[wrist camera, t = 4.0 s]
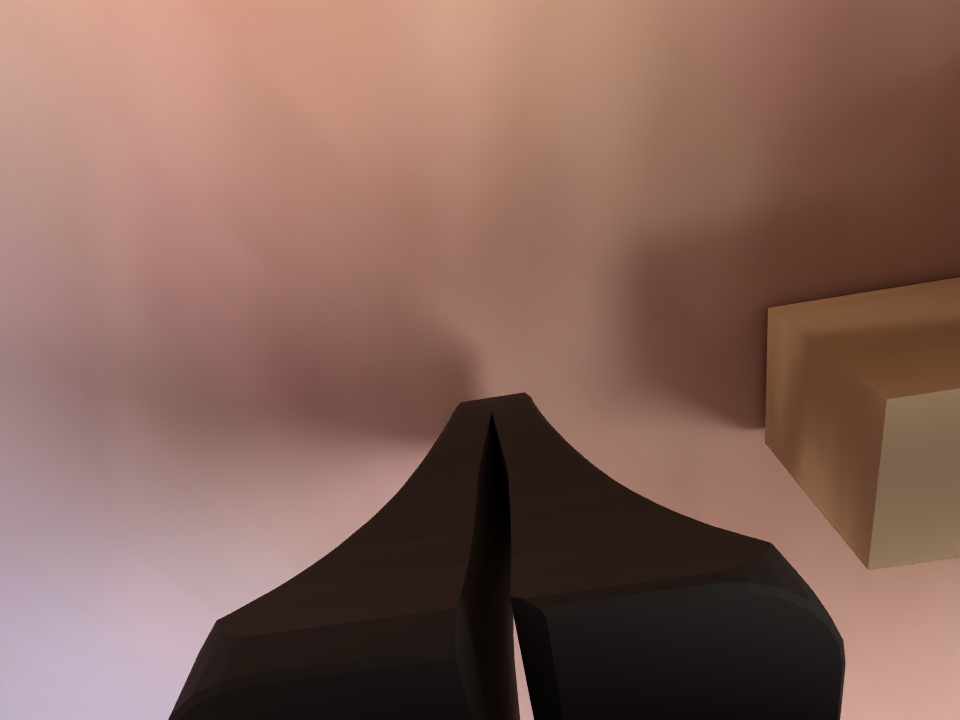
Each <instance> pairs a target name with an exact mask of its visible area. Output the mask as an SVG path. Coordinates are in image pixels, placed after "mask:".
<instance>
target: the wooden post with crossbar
mask: <svg viewBox="0 0 960 720" xmlns="http://www.w3.org/2000/svg"><path fill="white" fill-rule="evenodd" d="M765 443H766V444H767V446H768V447H769V448H770V449H771V450H772V452H773V453H774V454H775V455H776V457H777V458H778V459H779V460H780V462H781V463H782V464H783V465H784V467H785V468H786V469H787V470H788V471H789V473H790V474H791V475H792V476H793V478H794V479H795V480H796V481H797V483H798V484H799V485H800V486H801V488H802V489H803V490H804V491H805V492H806V494H807V495H808V496H809V497H810V499H811V500H812V501H813V502H814V504H815V505H816V506H817V507H818V509H819V510H820V511H821V512H822V513H823V515H824V516H825V517H826V518H827V520H828V521H829V522H830V523H831V525H832V526H833V527H834V528H835V529H836V531H837V532H838V533H839V534H840V536H841V537H842V538H843V539H844V541H845V542H846V543H847V544H848V546H849V547H850V548H851V549H852V550H853V552H854V553H855V554H856V555H857V557H858V558H859V559H860V560H861V562H862V563H863V564H864V565H865V567H866V568H867V569H868V570H869V569H876V568H884V567H891V566H898V565H906V564H913V563H921V562H928V561H935V560H943V559H950V558H957V557H960V277H958V278H952V279H945V280H939V281H933V282H927V283H920V284H914V285H908V286H901V287H895V288H889V289H883V290H876V291H870V292H864V293H858V294H851V295H845V296H839V297H832V298H826V299H820V300H814V301H807V302H801V303H795V304H789V305H782V306H776V307H770V308H768V330H767V376H766V422H765Z"/></svg>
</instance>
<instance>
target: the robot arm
mask: <svg viewBox="0 0 960 720" xmlns="http://www.w3.org/2000/svg"><path fill="white" fill-rule="evenodd" d="M513 615H514V620H515V625H516V630H517V635H518V640H519V645H520V650H521V655H522V660H523V665H524V671H525V676H526V681H527V686H528V691H529V696H530V701H531V706H532V711H533V716H534V720H840V714H841V704H842V694H843V684H844V674H845V654H844V643H843V639H842V637H841V635H840V633H839V631H838V630H837V628H836V626H835V624H834V622H833V620H832V618H831V617H830V615H829V614H828V612H827V611H826V609H825V608H824V606H823V605H822V603H821V602H820V600H819V599H818V597H817V596H816V595H815V593H814V592H813V591H812V589H811V588H810V587H809V586H808V585H807V583H806V582H805V581H804V580H803V579H802V577H801V576H800V575H799V574H798V573H797V571H796V570H795V569H794V568H793V567H792V566H791V565H790V564H789V562H788V561H787V560H786V559H785V558H784V557H783V556H782V555H781V553H780V552H779V551H778V550H777V549H776V548H775V547H774V545H773V544H771V543H769V542H766V541H762V540H759V539H755V538H752V537H748V536H745V535H741V534H738V533H735V532H731V531H728V530H724V529H721V528H717V527H714V526H711V525H708V524H705V523H702V522H700V521H697V520H695V519H692V518H689V517H687V516H684V515H682V514H679V513H677V512H674V511H672V510H670V509H668V508H665V507H663V506H661V505H659V504H656V503H654V502H653V501H651V500H649V499H647V498H645V497H643V496H641V495H639V494H637V493H635V492H633V491H631V490H630V489H628V488H626V487H624V486H623V485H621V484H619V483H618V482H616V481H615V480H613V479H612V478H610V477H609V476H607V475H606V474H605V473H603V472H602V471H601V470H599V469H598V468H597V467H595V466H594V465H593V464H592V463H590V462H589V461H588V460H587V459H586V458H584V457H583V456H582V455H581V454H580V453H579V452H577V451H576V450H575V449H574V448H573V447H572V446H571V445H570V444H569V443H568V442H567V441H566V440H565V439H564V438H563V437H562V436H561V435H560V434H559V433H558V432H557V431H556V430H555V429H554V428H553V427H552V426H551V424H550V423H549V422H548V421H547V420H546V419H545V417H544V416H543V415H542V414H541V412H540V411H539V410H538V408H537V407H536V405H535V404H534V402H533V401H532V398H531V397H530V396H529V395H527V394H526V393H518V394H512V395H505V396H499V397H492V398H486V399H480V400H473V401H467V402H461V403H460V404H459V405H458V407H457V408H456V409H455V411H454V413H453V414H452V416H451V418H450V420H449V421H448V423H447V425H446V426H445V428H444V430H443V431H442V433H441V435H440V436H439V438H438V439H437V441H436V442H435V444H434V445H433V447H432V448H431V450H430V451H429V453H428V454H427V456H426V457H425V458H424V460H423V461H422V463H421V464H420V465H419V467H418V468H417V469H416V470H415V472H414V473H413V474H412V475H411V477H410V478H409V479H408V481H407V482H406V483H405V484H404V486H403V487H402V488H401V489H400V490H399V491H398V492H397V494H396V495H395V496H394V497H393V498H392V499H391V500H390V501H389V502H388V503H387V504H386V505H385V506H384V507H383V508H382V509H381V510H380V511H379V512H378V513H377V514H376V515H375V516H374V517H372V518H371V519H370V520H369V521H368V522H367V523H366V524H364V525H363V526H362V527H361V528H360V529H358V530H357V531H356V532H355V533H354V534H352V535H351V536H350V537H349V538H348V539H346V540H345V541H344V542H343V543H341V544H340V545H339V546H338V547H337V548H335V549H334V550H333V551H331V552H330V553H329V554H327V555H326V556H324V557H323V558H322V559H320V560H319V561H317V562H316V563H315V564H313V565H312V566H310V567H309V568H307V569H306V570H304V571H303V572H301V573H300V574H298V575H296V576H295V577H293V578H292V579H290V580H289V581H287V582H286V583H284V584H282V585H281V586H279V587H277V588H276V589H274V590H272V591H270V592H269V593H267V594H265V595H263V596H261V597H259V598H258V599H256V600H254V601H252V602H250V603H249V604H247V605H245V606H243V607H241V608H240V609H238V610H236V611H234V612H232V613H231V614H229V615H227V616H225V617H223V618H221V619H219V620H217V621H216V623H215V625H214V626H213V628H212V630H211V632H210V634H209V635H208V637H207V639H206V641H205V643H204V645H203V646H202V648H201V650H200V652H199V654H198V656H197V658H196V661H195V663H194V665H193V667H192V670H191V672H190V674H189V676H188V678H187V680H186V683H185V685H184V687H183V689H182V691H181V693H180V696H179V698H178V700H177V702H176V704H175V706H174V709H173V711H172V713H171V715H170V717H169V719H168V720H520V714H519V703H518V693H517V682H516V672H515V661H514V639H513Z"/></svg>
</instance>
